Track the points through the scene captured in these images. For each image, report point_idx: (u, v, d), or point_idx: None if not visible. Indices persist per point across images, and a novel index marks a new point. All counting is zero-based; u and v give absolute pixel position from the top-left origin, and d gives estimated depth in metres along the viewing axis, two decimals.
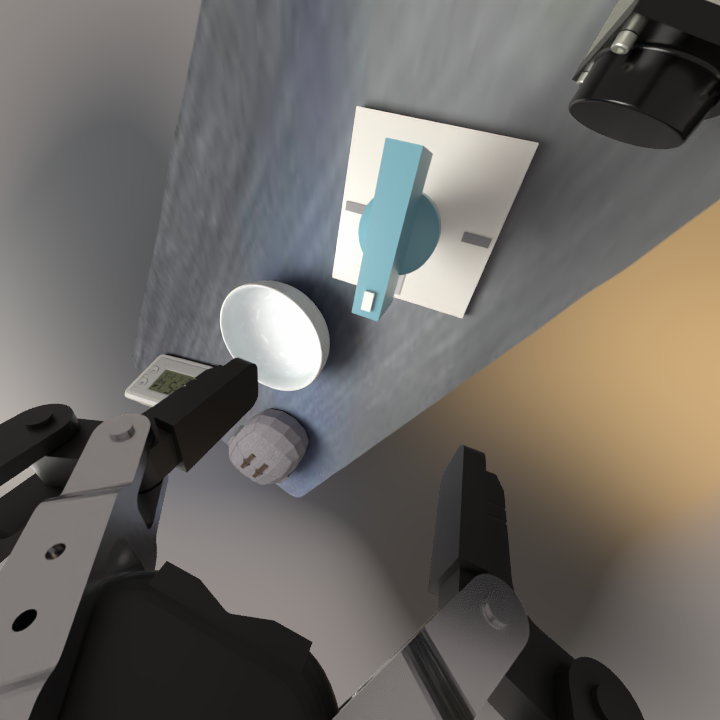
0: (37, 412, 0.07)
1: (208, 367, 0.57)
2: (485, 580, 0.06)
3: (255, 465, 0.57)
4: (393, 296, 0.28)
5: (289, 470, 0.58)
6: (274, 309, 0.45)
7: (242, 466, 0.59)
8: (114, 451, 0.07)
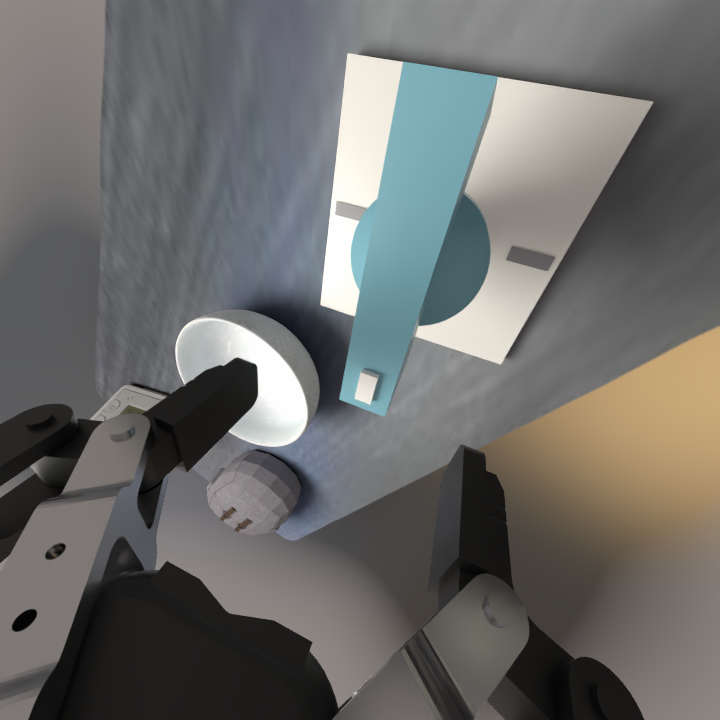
0: (37, 412, 0.07)
1: None
2: (485, 580, 0.06)
3: (237, 519, 0.48)
4: None
5: (278, 524, 0.48)
6: (249, 340, 0.35)
7: (222, 518, 0.49)
8: (113, 451, 0.07)
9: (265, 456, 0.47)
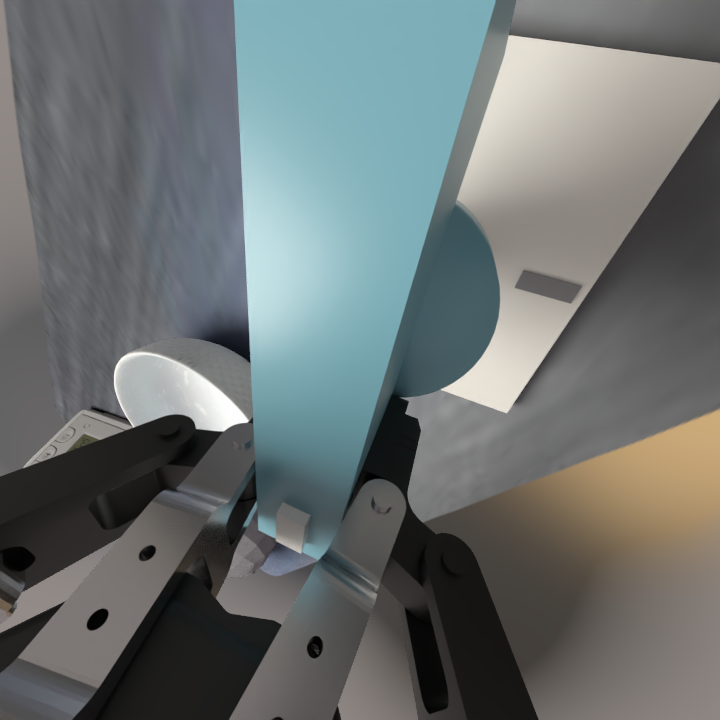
0: (170, 422, 0.08)
1: None
2: (377, 482, 0.07)
3: None
4: None
5: (254, 569, 0.43)
6: None
7: None
8: (229, 459, 0.07)
9: None
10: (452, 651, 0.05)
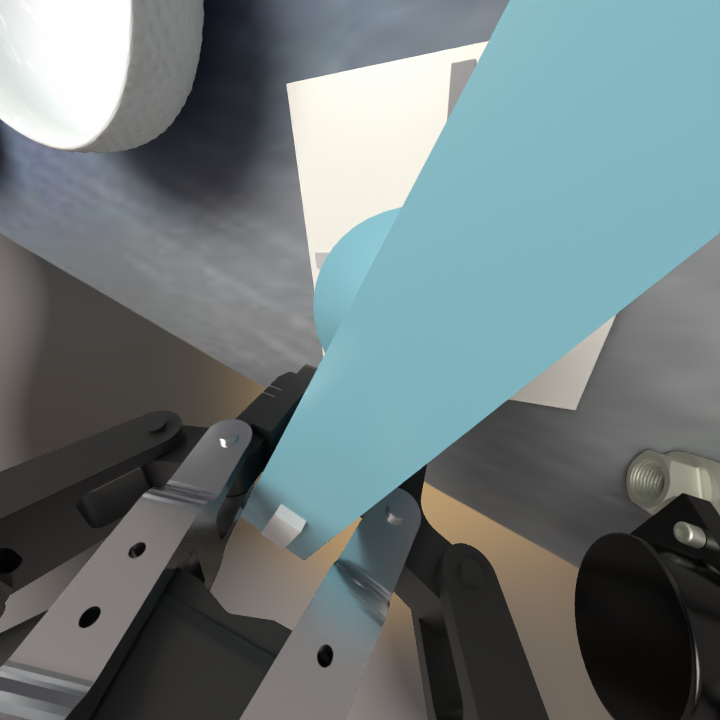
0: (155, 418, 0.08)
1: None
2: None
3: None
4: None
5: None
6: None
7: None
8: (216, 455, 0.07)
9: None
10: (469, 665, 0.05)
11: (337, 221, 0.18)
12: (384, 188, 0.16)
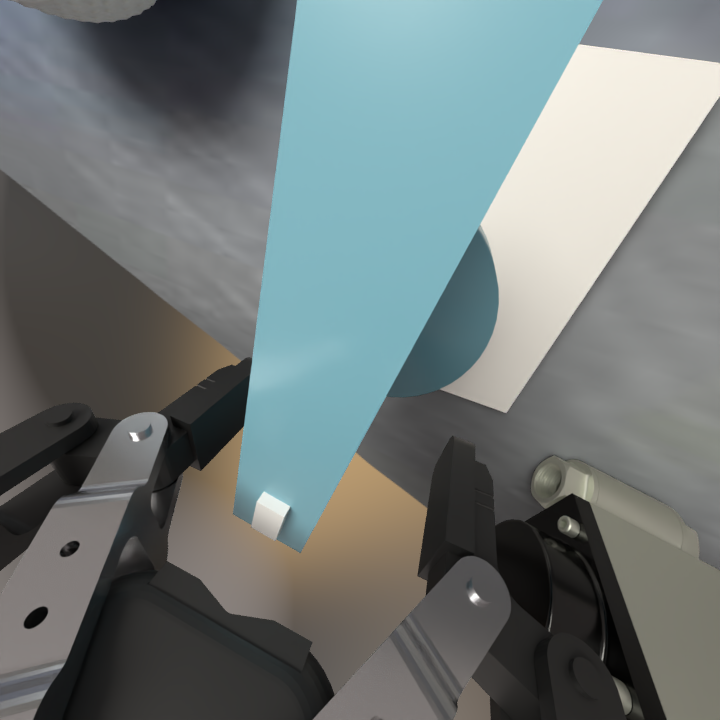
0: (58, 411, 0.07)
1: None
2: (470, 561, 0.06)
3: None
4: None
5: None
6: None
7: None
8: (131, 449, 0.07)
9: None
10: None
11: None
12: None
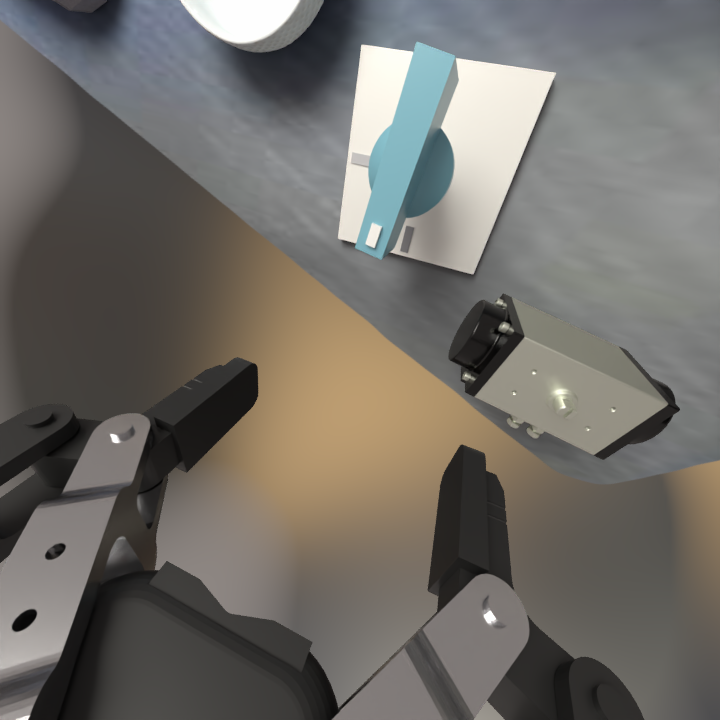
0: (37, 412, 0.07)
1: None
2: (485, 580, 0.06)
3: None
4: None
5: None
6: None
7: None
8: (114, 451, 0.07)
9: None
10: None
11: (370, 135, 0.31)
12: None
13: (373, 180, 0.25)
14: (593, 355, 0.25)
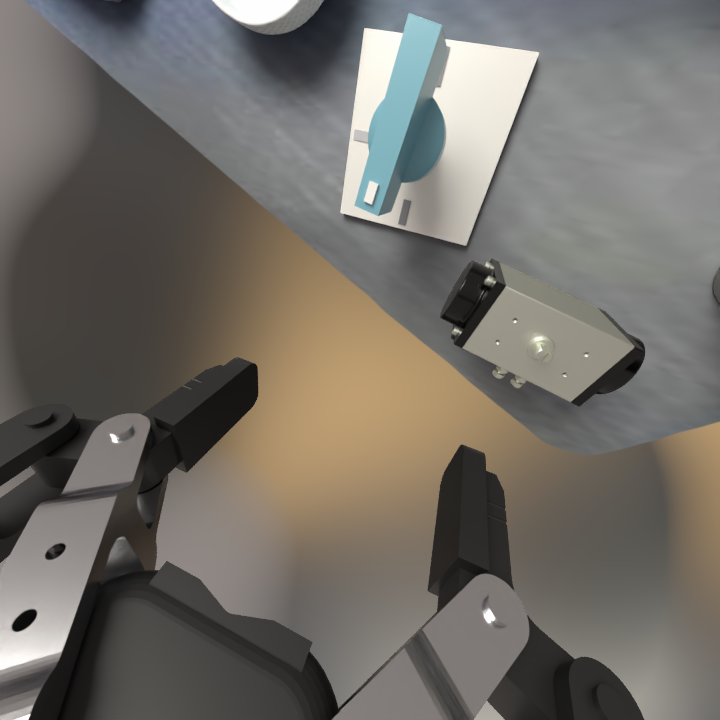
0: (36, 412, 0.07)
1: None
2: (485, 580, 0.06)
3: None
4: (393, 205, 0.29)
5: None
6: None
7: None
8: (113, 451, 0.07)
9: None
10: None
11: (371, 112, 0.34)
12: None
13: None
14: (570, 307, 0.27)
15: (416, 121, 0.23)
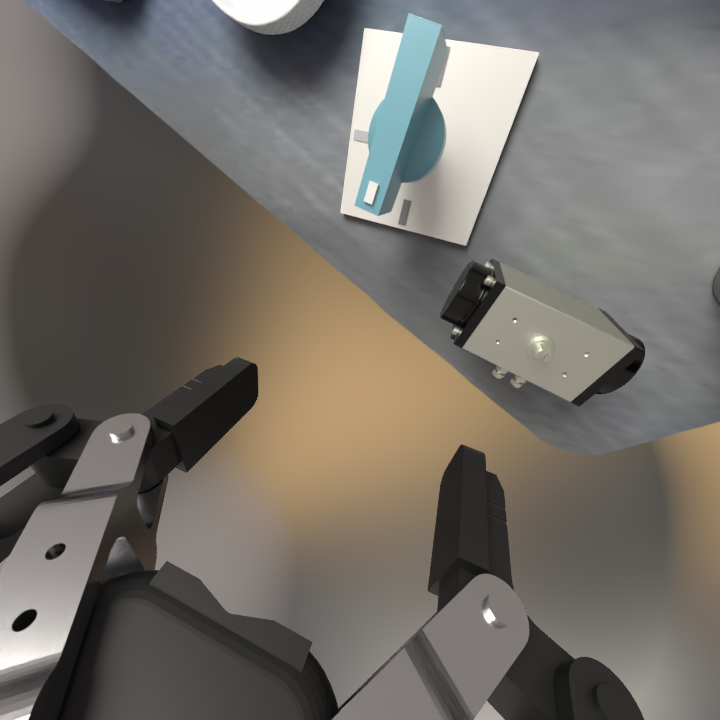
0: (36, 412, 0.07)
1: None
2: (485, 580, 0.06)
3: None
4: (393, 205, 0.29)
5: None
6: None
7: None
8: (113, 451, 0.07)
9: None
10: None
11: (371, 112, 0.34)
12: None
13: None
14: (570, 307, 0.27)
15: (416, 121, 0.23)
